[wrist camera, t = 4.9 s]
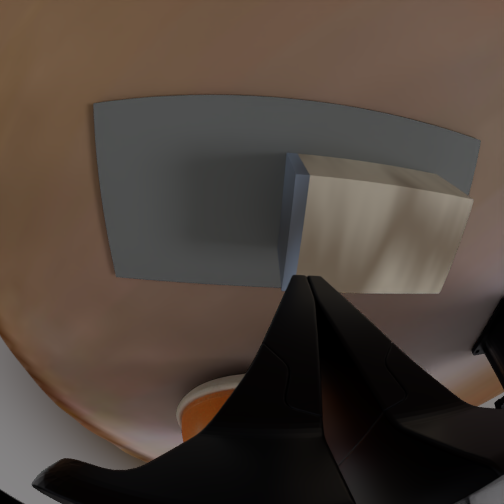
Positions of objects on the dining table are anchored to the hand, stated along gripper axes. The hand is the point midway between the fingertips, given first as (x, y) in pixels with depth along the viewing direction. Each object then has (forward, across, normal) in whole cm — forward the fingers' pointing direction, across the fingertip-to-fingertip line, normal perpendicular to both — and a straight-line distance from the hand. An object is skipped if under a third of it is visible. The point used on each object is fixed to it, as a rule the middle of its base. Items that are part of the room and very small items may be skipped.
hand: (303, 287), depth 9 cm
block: (+5, 0, 0) cm, 5 cm away
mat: (+7, 0, 0) cm, 7 cm away
